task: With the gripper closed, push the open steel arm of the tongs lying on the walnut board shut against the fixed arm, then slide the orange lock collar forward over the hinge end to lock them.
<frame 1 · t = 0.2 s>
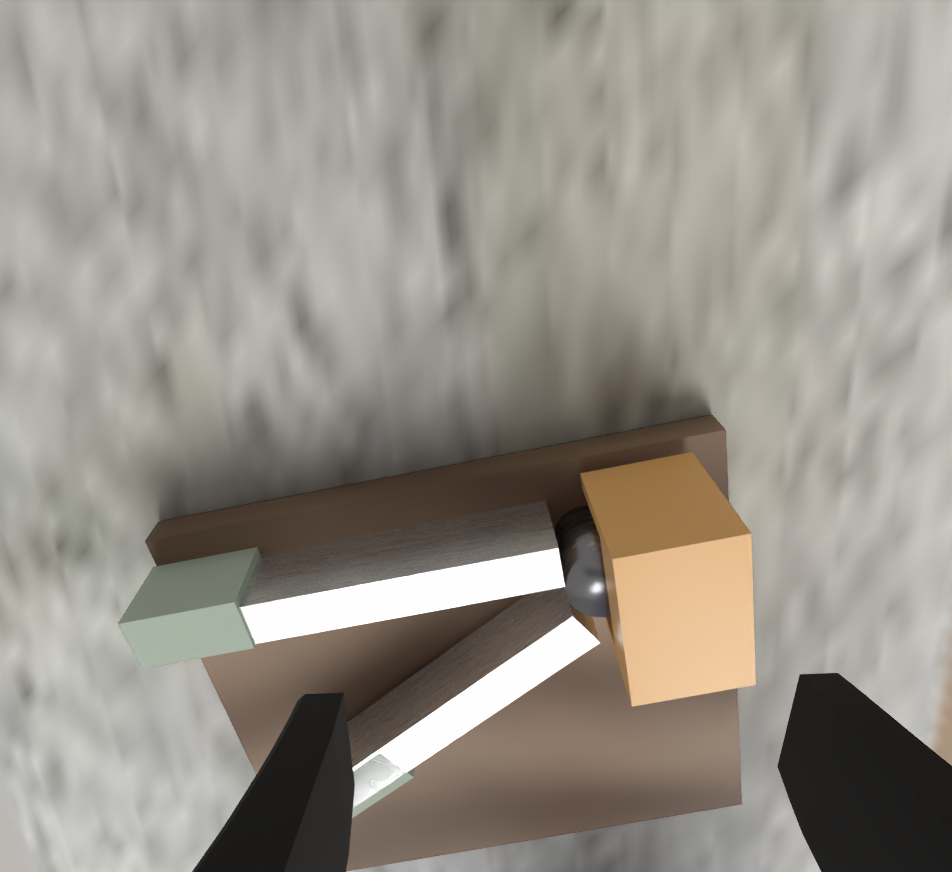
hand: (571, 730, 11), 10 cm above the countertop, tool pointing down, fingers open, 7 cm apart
tong board: (480, 666, 23), on the countertop
tong arm: (447, 701, 21), point 2 cm above the countertop, hinge at 30.0°
lock collar: (663, 573, 18), point 3 cm above the countertop, slide at 0.0 cm
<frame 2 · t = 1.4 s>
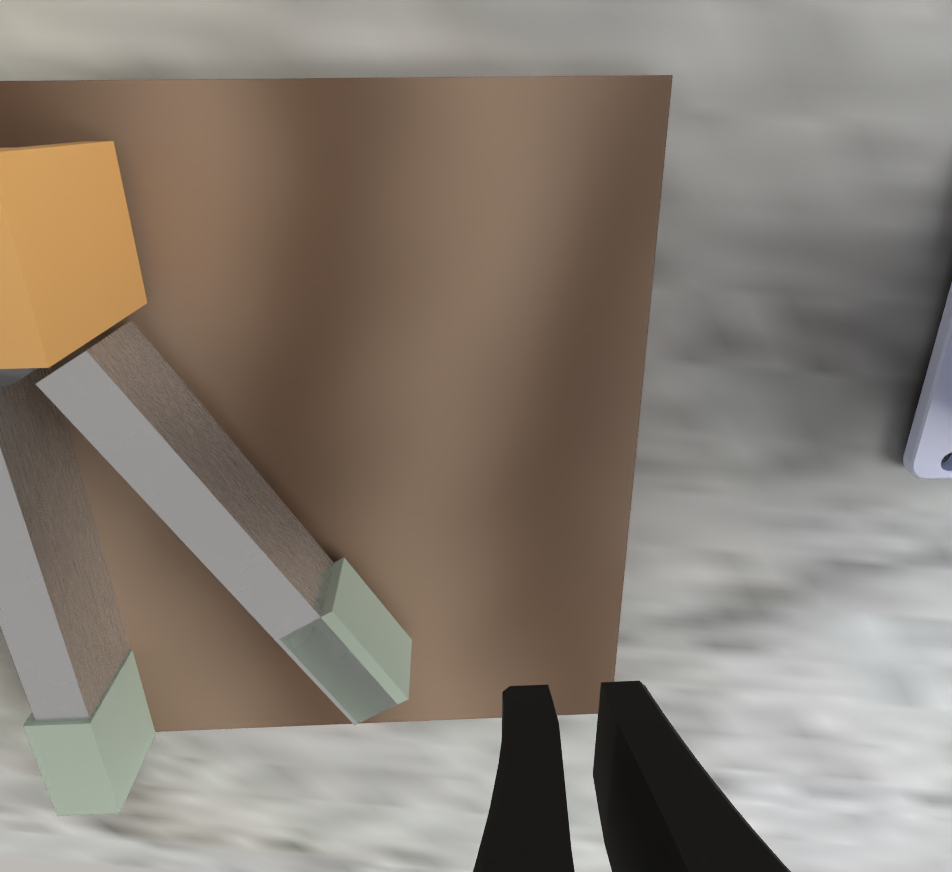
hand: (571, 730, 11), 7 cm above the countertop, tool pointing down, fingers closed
tong board: (318, 449, 17), on the countertop
tong arm: (256, 534, 15), point 2 cm above the countertop, hinge at 30.0°
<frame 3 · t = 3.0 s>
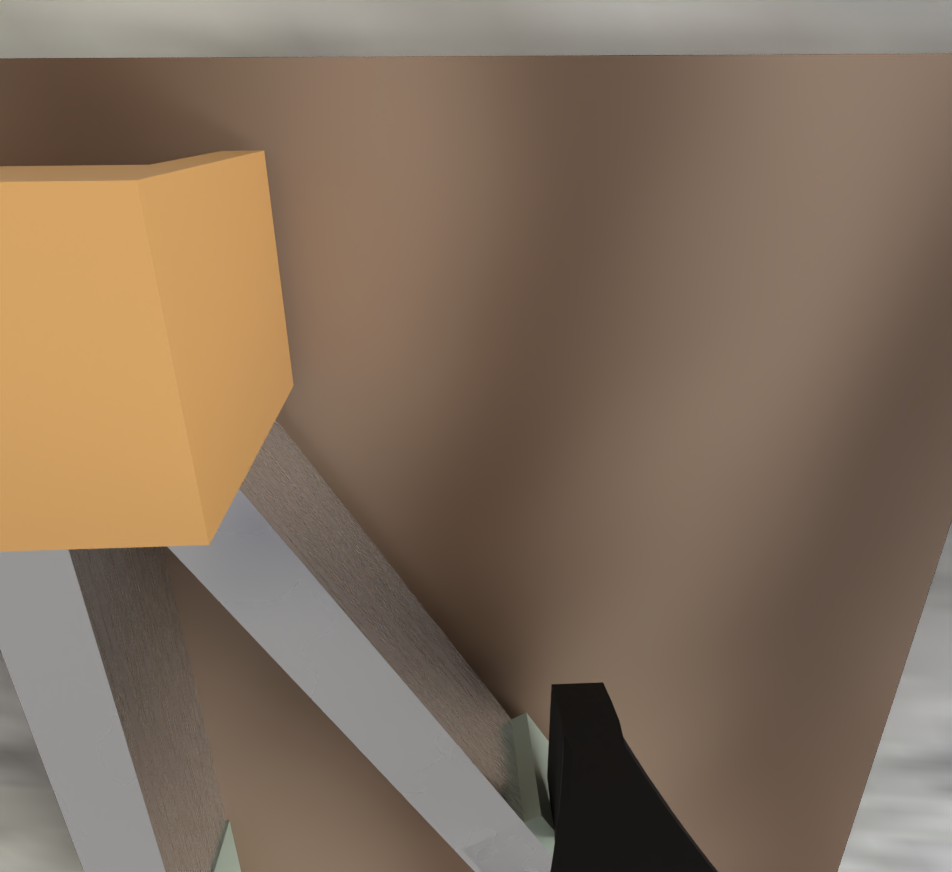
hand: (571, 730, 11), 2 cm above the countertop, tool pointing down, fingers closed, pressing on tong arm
tong board: (490, 564, 13), on the countertop
tong arm: (429, 702, 11), point 2 cm above the countertop, hinge at 29.9°, touching gripper
lock collar: (23, 321, 7), point 3 cm above the countertop, slide at 0.0 cm
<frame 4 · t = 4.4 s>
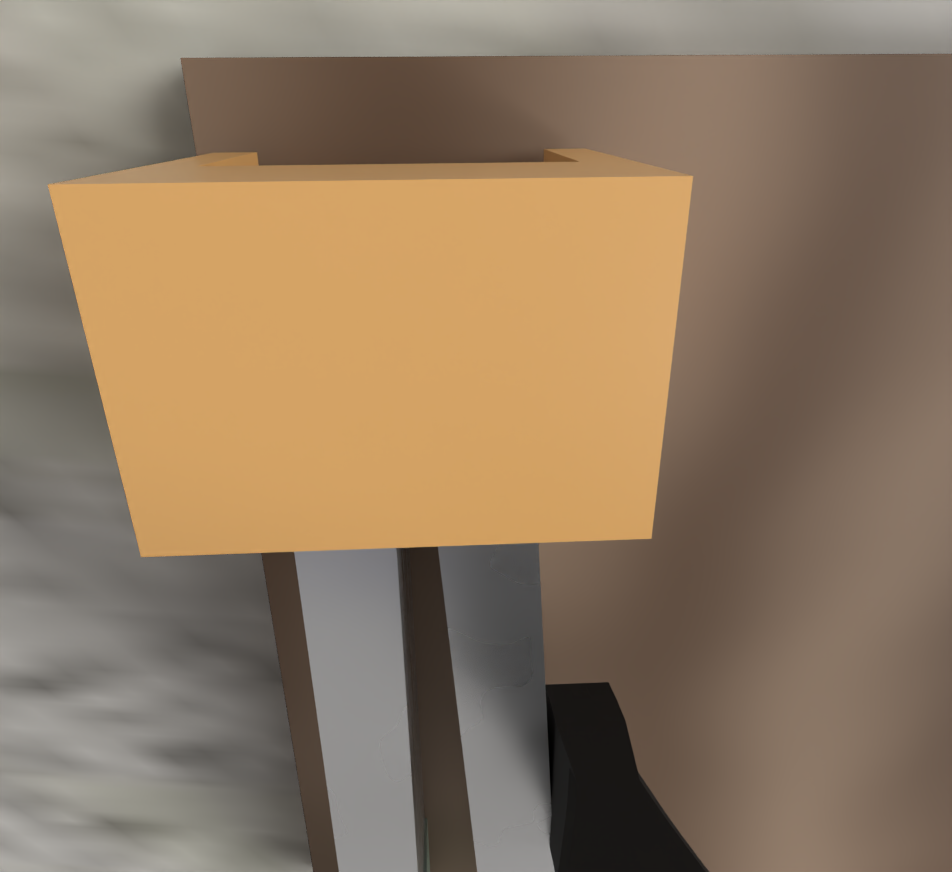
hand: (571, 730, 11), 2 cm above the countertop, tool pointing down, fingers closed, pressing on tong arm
tong board: (702, 561, 13), on the countertop
tong arm: (514, 761, 11), point 2 cm above the countertop, hinge at 4.1°, touching gripper
lock collar: (401, 317, 7), point 3 cm above the countertop, slide at 0.0 cm
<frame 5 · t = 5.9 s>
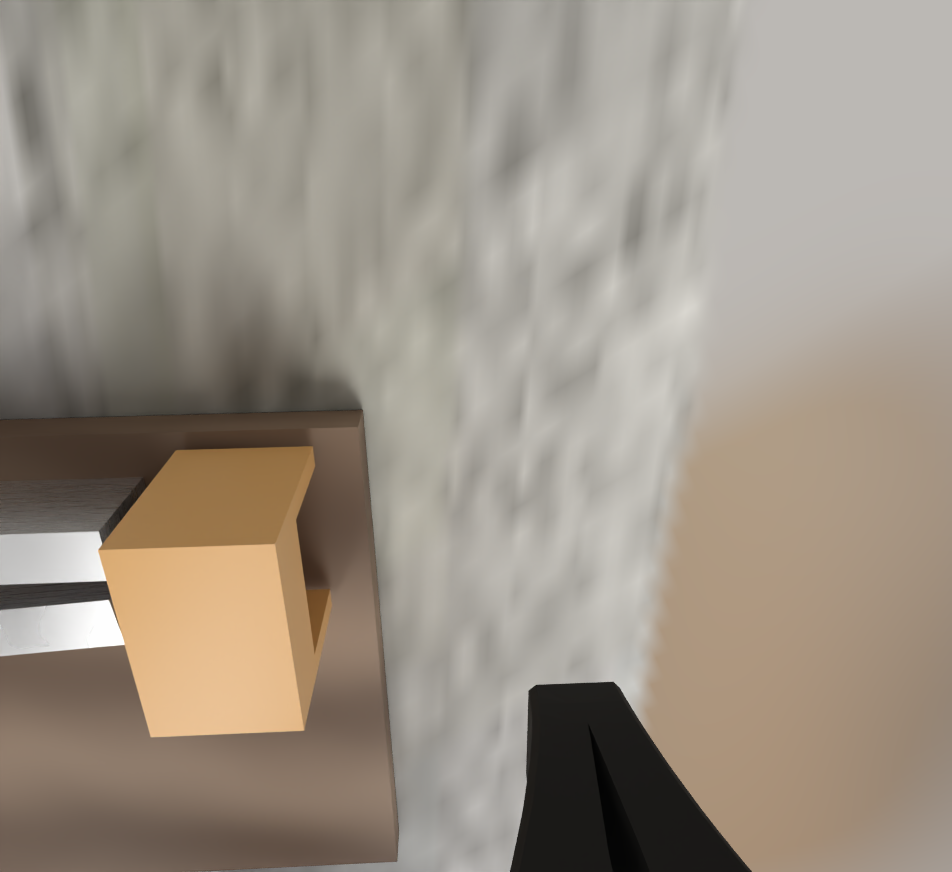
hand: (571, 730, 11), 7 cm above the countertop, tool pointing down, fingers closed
tong board: (96, 665, 20), on the countertop
lock collar: (236, 582, 15), point 3 cm above the countertop, slide at 0.0 cm
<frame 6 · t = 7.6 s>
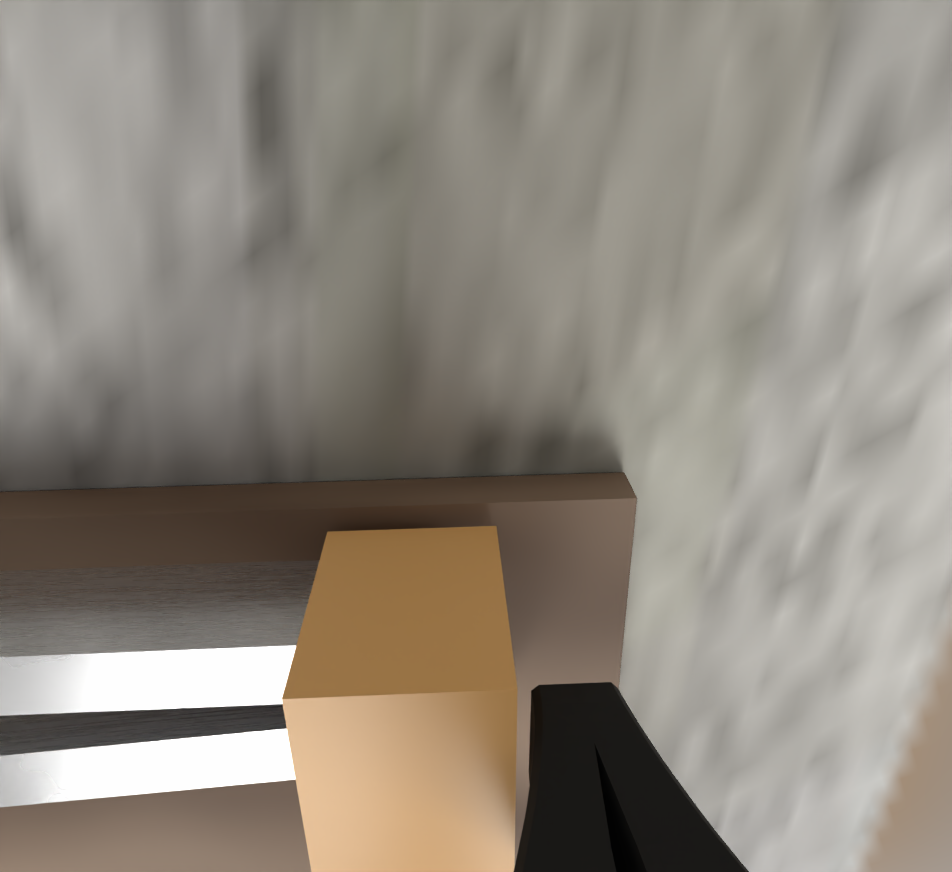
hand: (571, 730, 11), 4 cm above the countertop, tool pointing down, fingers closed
tong board: (263, 763, 17), on the countertop
tong arm: (90, 735, 13), point 2 cm above the countertop, hinge at 4.0°
lock collar: (414, 705, 12), point 3 cm above the countertop, slide at 1.6 cm, touching gripper
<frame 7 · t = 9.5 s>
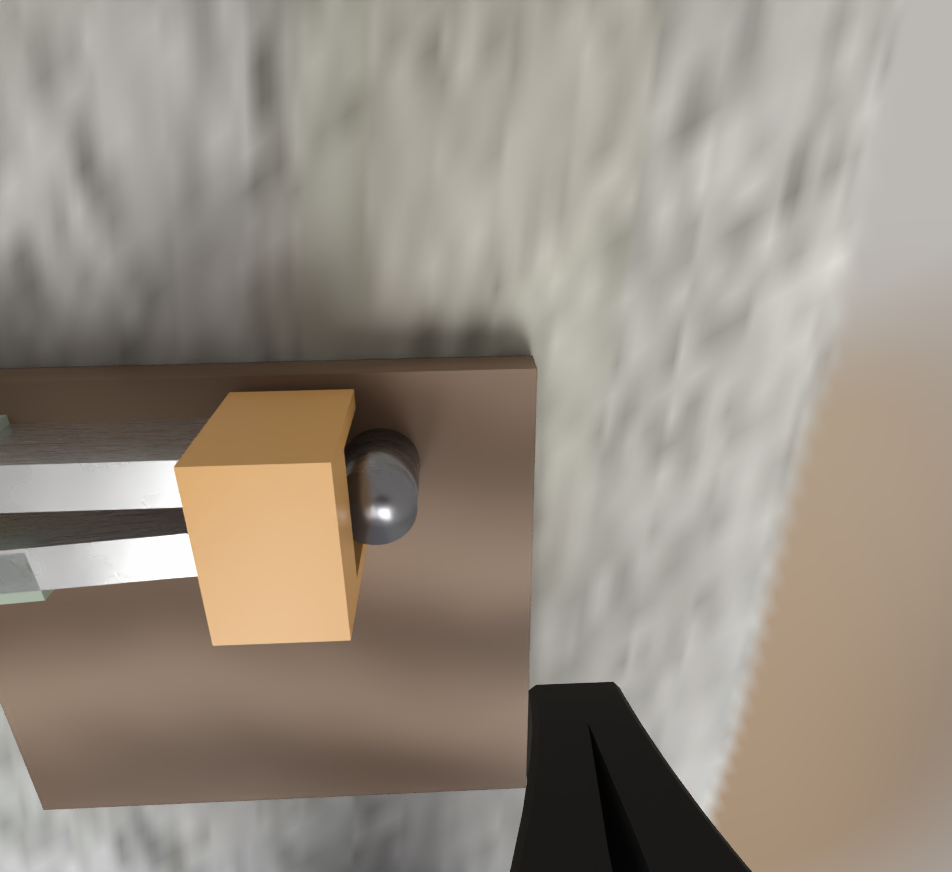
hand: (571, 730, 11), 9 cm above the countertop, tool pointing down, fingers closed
tong board: (262, 598, 21), on the countertop
tong arm: (135, 543, 18), point 2 cm above the countertop, hinge at 4.0°
lock collar: (287, 510, 16), point 3 cm above the countertop, slide at 3.5 cm
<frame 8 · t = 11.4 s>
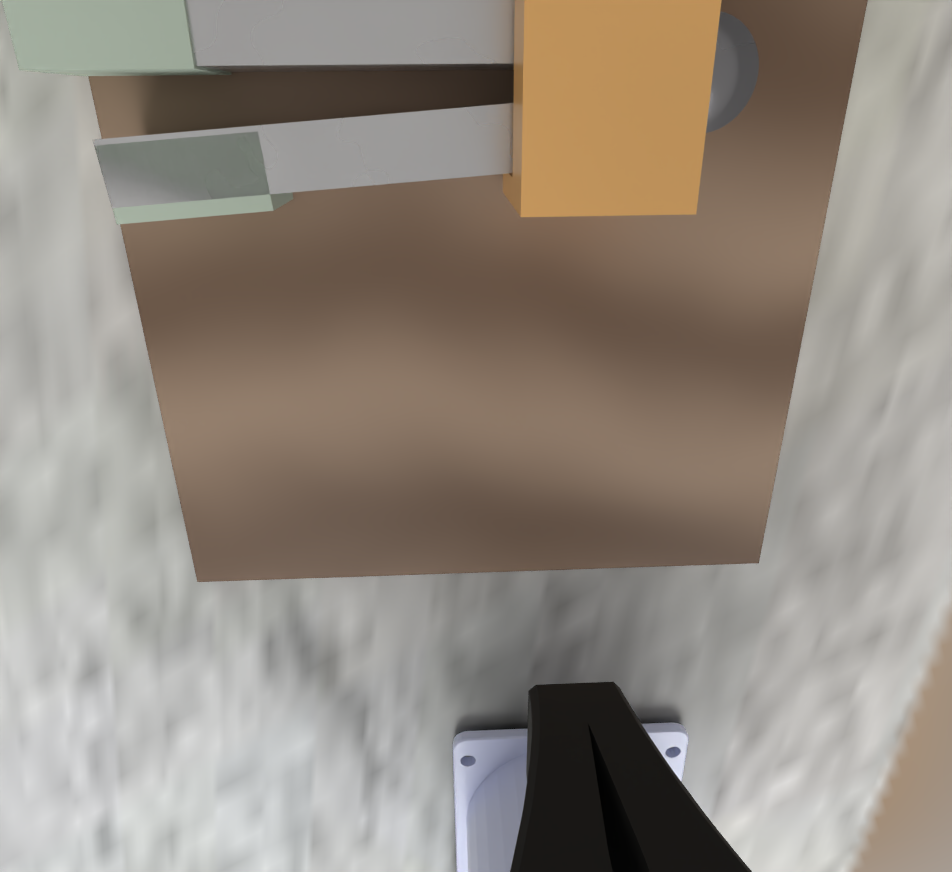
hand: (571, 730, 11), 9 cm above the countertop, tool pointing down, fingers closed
tong board: (478, 303, 18), on the countertop
tong arm: (376, 156, 14), point 2 cm above the countertop, hinge at 4.0°
lock collar: (594, 75, 13), point 3 cm above the countertop, slide at 3.5 cm
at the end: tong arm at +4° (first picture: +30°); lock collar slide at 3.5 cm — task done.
